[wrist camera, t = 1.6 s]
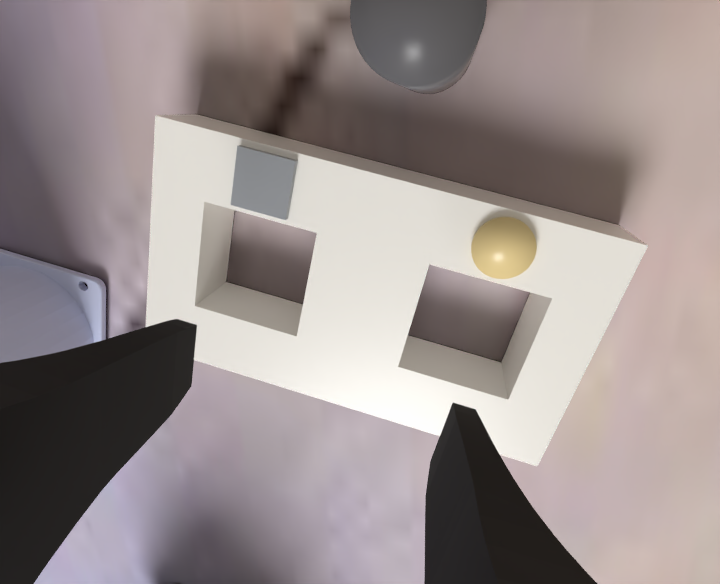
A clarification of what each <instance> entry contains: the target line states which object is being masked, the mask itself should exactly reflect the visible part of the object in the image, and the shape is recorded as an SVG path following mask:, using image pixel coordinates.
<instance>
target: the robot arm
mask: <svg viewBox="0 0 720 584" xmlns="http://www.w3.org/2000/svg"><path fill="white" fill-rule="evenodd" d="M84 282H85V283H86V284H87V286H88V287H86V286H85V284H84ZM196 331H197V325H196V324H192V323H189V322H186V321H182V320H179V319H173V320H169V321H165V322H162V323H158V324H155V325H151V326H148V327H145V328H142V329H139V330H135V331H132V332H129V333H126V334H122V335H119V336H116V337H113V338H109V339H106V287H105V284H104V282H103V281H102V280H101V279H99V278H97V277H93V276H90V275H87V274H83V273H80V272H76V271H73V270H70V269H66V268H63V267H60V266H56V265H53V264H50V263H46V262H43V261H40V260H36V259H33V258H30V257H26V256H23V255H20V254H16V253H13V252H10V251H6V250H3V249H0V584H33V583H34V582H35V581H36V579H37V578H38V576H39V575H40V573H41V572H42V570H43V569H44V567H45V566H46V565H47V563H48V562H49V560H50V559H51V557H52V556H53V555H54V553H55V552H56V551H57V549H58V548H59V546H60V545H61V544H62V542H63V541H64V540H65V538H66V537H67V535H68V534H69V533H70V531H71V530H72V529H73V527H74V526H75V524H76V523H77V522H78V521H79V519H80V518H81V517H82V515H83V514H84V513H85V511H86V510H87V509H88V507H89V506H90V505H91V504H92V502H93V501H94V500H95V498H96V497H97V496H98V494H99V493H100V492H101V491H102V489H103V488H104V487H105V486H106V485H107V484H108V482H109V481H110V480H111V479H112V478H113V477H114V476H115V474H116V473H117V472H118V471H119V470H120V469H121V468H122V467H123V466H124V465H125V464H126V463H127V462H128V461H129V460H130V458H131V457H132V456H133V455H134V454H135V453H136V452H137V451H138V450H139V449H140V448H141V447H142V446H143V445H144V444H145V442H146V441H147V440H148V439H149V438H150V437H151V436H152V435H153V434H154V433H155V432H156V431H157V430H158V428H159V427H160V426H161V425H162V424H163V423H164V422H165V421H166V420H167V419H168V417H169V416H170V415H171V414H172V413H173V411H174V410H175V409H176V407H177V406H178V404H179V403H180V402H181V400H182V399H183V397H184V396H185V394H186V393H187V391H188V390H189V388H190V387H191V383H192V373H193V363H194V352H195V342H196ZM425 584H597V583H596V582H595V581H594V580H593V579H592V578H591V577H590V576H589V575H588V574H587V572H586V571H585V570H584V569H583V568H582V567H581V566H580V565H579V564H578V562H577V561H576V560H575V559H574V558H573V557H572V556H571V555H570V553H569V552H568V551H567V550H566V549H565V548H564V547H563V545H562V544H561V543H560V542H559V541H558V539H557V538H556V537H555V536H554V535H553V533H552V532H551V531H550V529H549V528H548V527H547V526H546V524H545V523H544V522H543V520H542V519H541V518H540V516H539V515H538V514H537V513H536V511H535V510H534V508H533V507H532V506H531V504H530V503H529V501H528V500H527V498H526V497H525V495H524V494H523V492H522V491H521V489H520V488H519V486H518V485H517V483H516V482H515V480H514V479H513V477H512V475H511V474H510V472H509V470H508V469H507V467H506V465H505V463H504V462H503V460H502V458H501V456H500V455H499V453H498V451H497V449H496V447H495V446H494V444H493V442H492V440H491V438H490V436H489V434H488V432H487V430H486V428H485V426H484V424H483V422H482V420H481V419H480V417H479V415H478V413H477V411H476V409H473V408H470V407H466V406H463V405H460V404H456V403H452V406H451V408H450V411H449V414H448V416H447V419H446V422H445V424H444V427H443V430H442V432H441V435H440V438H439V440H438V443H437V445H436V448H435V451H434V453H433V456H432V459H431V462H430V469H429V476H428V483H427V491H426V512H425Z"/></svg>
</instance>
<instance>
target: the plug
mask: <svg viewBox="0 0 720 584" xmlns="http://www.w3.org/2000/svg"><path fill="white" fill-rule="evenodd" d="M486 7H487V0H351V7H350V19H351V28H352V33H353V37H354V40H355V43H356V46H357V48H358V50H359V52H360V54H361V55H362V57H363V59H364V60H365V61H366V63H367V64H368V65H369V66H370V67H371V68H372V69H373V70H374V71H375V72H376V73H377V74H379V75H380V76H382V77H383V78H385V79H387V80H389V81H391V82H393V83H396V84H398V85H400V86H403V87H405V88H407V89H410V90H412V91H415V92H418V93H422V94H433V93H438V92H441V91H444V90H446V89H448V88H450V87H451V86H453V85H454V84H455V83H456V82H457V81H458V80H460V78H461V77H462V76H463V75H464V73H465V72H466V70H467V68H468V66H469V64H470V62H471V59H472V56H473V54H474V51H475V48H476V45H477V43H478V40H479V37H480V34H481V32H482V29H483V25H484V21H485V16H486Z"/></svg>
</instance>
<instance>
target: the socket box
mask: <svg viewBox="0 0 720 584" xmlns="http://www.w3.org/2000/svg"><path fill="white" fill-rule="evenodd" d="M235 210H236V211H240V212H243V213H247V214H250V215H254V216H258V217H261V218H265V219H268V220H272V221H276V222H279V223H283V224H286V225H290V226H293V227H297V228H301V229H304V230H308V231H311V232H315V233H317V235H316V241H315V246H314V251H313V256H312V261H311V266H310V271H309V276H308V281H307V286H306V291H305V297H304V302H303V304H300V303H296V302H293V301H289V300H286V299H283V298H279V297H276V296H272V295H269V294H266V293H262V292H259V291H255V290H252V289H248V288H245V287H242V286H238V285H235V284H231V283H228V282H226V279H227V270H228V262H229V253H230V245H231V237H232V228H233V220H234V212H235ZM647 247H648V245H646V244H645V243H644V242H642V241H641V240H639V239H638V238H637V237H635V236H634V235H632V234H631V233H630V232H628V231H627V230H625V229H624V228H622V227H621V226H620V225H617V224H613V223H609V222H605V221H601V220H598V219H594V218H590V217H586V216H582V215H578V214H575V213H571V212H567V211H563V210H559V209H556V208H552V207H548V206H544V205H540V204H537V203H533V202H529V201H525V200H521V199H517V198H514V197H510V196H506V195H502V194H498V193H495V192H491V191H487V190H483V189H479V188H475V187H472V186H468V185H464V184H460V183H456V182H453V181H449V180H445V179H441V178H437V177H434V176H430V175H426V174H422V173H418V172H414V171H411V170H407V169H403V168H399V167H395V166H392V165H388V164H384V163H380V162H376V161H373V160H369V159H365V158H361V157H357V156H353V155H350V154H346V153H342V152H338V151H334V150H331V149H327V148H323V147H319V146H315V145H311V144H308V143H304V142H300V141H296V140H292V139H289V138H285V137H281V136H277V135H273V134H270V133H266V132H262V131H258V130H254V129H250V128H247V127H243V126H239V125H235V124H231V123H228V122H224V121H220V120H216V119H212V118H208V117H205V116H201V115H197V114H189V115H155V133H154V155H153V177H152V200H151V222H150V244H149V266H148V288H147V310H146V327H148V326H151V325H155V324H158V323H162V322H165V321H169V320H173V319H179V320H182V321H186V322H189V323H192V324H196V325H197V331H196V342H195V352H194V360H196V361H199V362H202V363H205V364H209V365H212V366H215V367H218V368H222V369H225V370H228V371H231V372H234V373H238V374H241V375H244V376H247V377H251V378H254V379H257V380H260V381H263V382H267V383H270V384H273V385H276V386H280V387H283V388H286V389H289V390H293V391H296V392H299V393H302V394H305V395H309V396H312V397H315V398H318V399H322V400H325V401H328V402H331V403H334V404H338V405H341V406H344V407H347V408H351V409H354V410H357V411H360V412H364V413H367V414H370V415H373V416H376V417H380V418H383V419H386V420H389V421H393V422H396V423H399V424H402V425H405V426H409V427H412V428H415V429H418V430H422V431H425V432H428V433H431V434H435V435H438V436H440V435H441V432H442V430H443V427H444V424H445V422H446V419H447V416H448V414H449V411H450V408H451V406H452V403H456V404H460V405H463V406H466V407H470V408H473V409H476V411H477V413H478V415H479V417H480V419H481V420H482V422H483V424H484V426H485V428H486V430H487V432H488V434H489V436H490V438H491V440H492V442H493V444H494V446H495V447H496V449H497V451H498V453H499V455H502V456H505V457H509V458H512V459H515V460H518V461H522V462H525V463H528V464H531V465H535V466H538V464H539V462H540V460H541V458H542V456H543V454H544V452H545V450H546V448H547V446H548V444H549V442H550V440H551V438H552V436H553V434H554V432H555V430H556V428H557V426H558V424H559V422H560V420H561V418H562V416H563V414H564V412H565V410H566V408H567V406H568V404H569V402H570V400H571V398H572V396H573V394H574V392H575V390H576V388H577V386H578V384H579V382H580V380H581V378H582V376H583V374H584V372H585V370H586V368H587V366H588V364H589V362H590V360H591V358H592V356H593V354H594V352H595V351H596V349H597V347H598V345H599V343H600V341H601V339H602V337H603V335H604V333H605V331H606V329H607V327H608V325H609V323H610V321H611V319H612V317H613V315H614V313H615V311H616V309H617V307H618V305H619V303H620V301H621V299H622V297H623V295H624V293H625V291H626V289H627V287H628V285H629V283H630V281H631V279H632V277H633V275H634V273H635V271H636V269H637V267H638V265H639V263H640V261H641V259H642V257H643V255H644V253H645V251H646V249H647ZM429 264H430V265H433V266H437V267H441V268H444V269H448V270H451V271H455V272H459V273H462V274H466V275H469V276H473V277H476V278H480V279H484V280H487V281H491V282H494V283H498V284H502V285H505V286H509V287H512V288H516V289H520V290H523V291H527V292H530V294H529V296H528V299H527V301H526V304H525V306H524V309H523V311H522V313H521V316H520V318H519V321H518V323H517V326H516V328H515V330H514V333H513V335H512V338H511V340H510V343H509V345H508V347H507V350H506V352H505V355H504V357H503V360H502V362H498V361H494V360H491V359H487V358H484V357H481V356H477V355H474V354H470V353H467V352H464V351H460V350H457V349H453V348H450V347H446V346H443V345H440V344H436V343H433V342H429V341H426V340H423V339H419V338H416V337H412V336H409V335H408V333H409V329H410V326H411V323H412V320H413V316H414V313H415V310H416V307H417V303H418V300H419V297H420V294H421V290H422V287H423V284H424V281H425V277H426V274H427V271H428V267H429Z"/></svg>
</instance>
